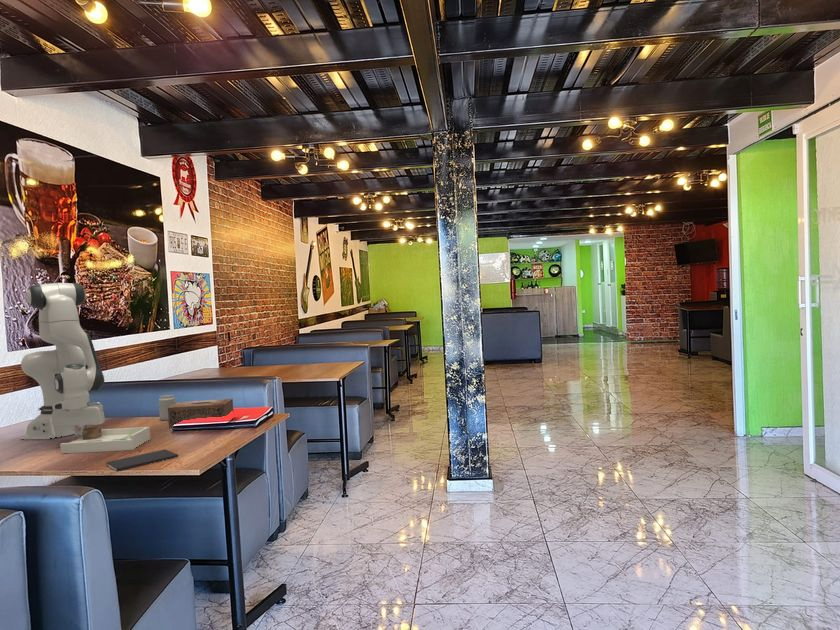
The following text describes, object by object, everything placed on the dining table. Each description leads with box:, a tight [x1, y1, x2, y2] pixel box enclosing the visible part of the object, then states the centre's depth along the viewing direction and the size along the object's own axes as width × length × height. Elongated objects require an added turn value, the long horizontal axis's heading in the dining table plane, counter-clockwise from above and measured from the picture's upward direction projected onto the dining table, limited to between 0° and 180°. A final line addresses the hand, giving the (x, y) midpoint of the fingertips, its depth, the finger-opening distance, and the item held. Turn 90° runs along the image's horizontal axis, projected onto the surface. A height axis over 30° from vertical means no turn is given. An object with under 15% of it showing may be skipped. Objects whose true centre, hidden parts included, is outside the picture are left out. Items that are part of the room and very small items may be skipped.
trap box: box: [59, 426, 151, 454], centre depth 234 cm, size 28×16×6 cm, turn 92°
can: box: [158, 394, 176, 422], centre depth 284 cm, size 8×8×12 cm
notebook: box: [105, 449, 179, 472], centre depth 209 cm, size 13×2×21 cm
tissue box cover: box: [168, 398, 234, 429], centre depth 271 cm, size 26×14×10 cm, turn 94°
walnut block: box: [82, 426, 102, 440], centre depth 237 cm, size 5×5×4 cm
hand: (79, 435), depth 237 cm, fingers closed
